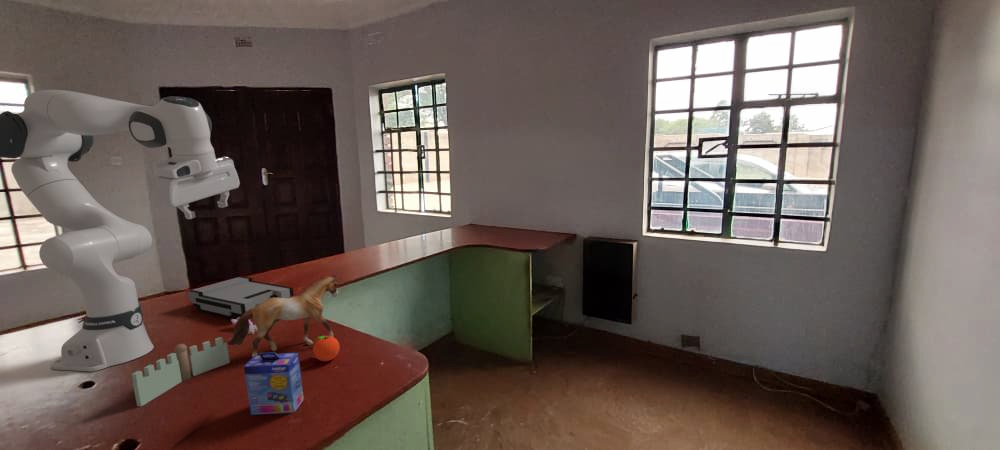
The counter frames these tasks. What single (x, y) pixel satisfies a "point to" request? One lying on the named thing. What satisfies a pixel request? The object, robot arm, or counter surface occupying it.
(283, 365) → the ink cartridge box
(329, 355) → the clementine
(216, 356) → the fence post and fixed panel
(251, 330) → the rabbit figure
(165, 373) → the folding fence panel
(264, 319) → the horse figurine
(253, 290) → the game console
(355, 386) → the counter surface
